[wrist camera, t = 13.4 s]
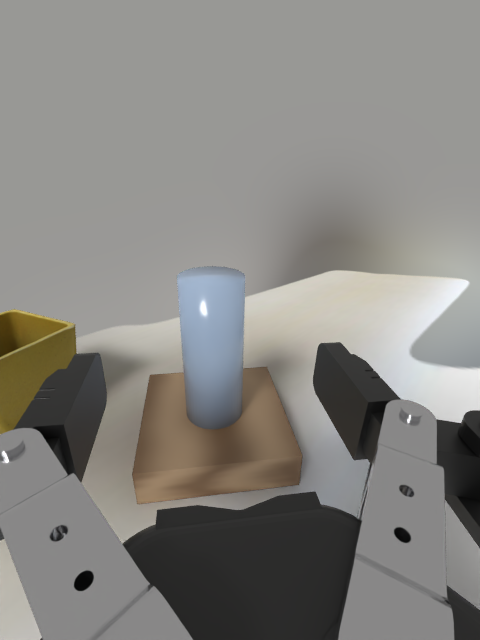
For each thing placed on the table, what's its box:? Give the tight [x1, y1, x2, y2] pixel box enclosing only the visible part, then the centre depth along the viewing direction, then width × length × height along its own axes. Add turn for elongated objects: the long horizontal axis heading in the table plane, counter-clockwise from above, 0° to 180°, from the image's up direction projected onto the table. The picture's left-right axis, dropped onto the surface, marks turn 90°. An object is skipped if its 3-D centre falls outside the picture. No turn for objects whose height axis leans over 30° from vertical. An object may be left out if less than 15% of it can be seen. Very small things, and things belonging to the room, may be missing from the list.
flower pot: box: [0, 309, 76, 434], centre depth 30 cm, size 9×9×9 cm
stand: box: [132, 367, 302, 504], centre depth 29 cm, size 12×12×3 cm
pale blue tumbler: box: [177, 266, 245, 429], centre depth 26 cm, size 5×5×12 cm
